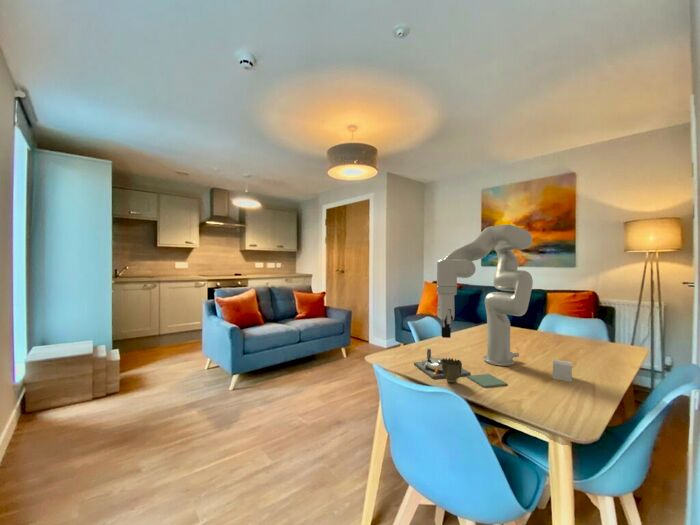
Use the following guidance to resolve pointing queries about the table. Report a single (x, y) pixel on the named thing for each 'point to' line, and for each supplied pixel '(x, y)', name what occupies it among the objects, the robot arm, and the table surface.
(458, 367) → the cup
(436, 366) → the sprocket wheel
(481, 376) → the seat mat
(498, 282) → the robot arm
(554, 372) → the grey cube
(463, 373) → the index board
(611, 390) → the table surface
